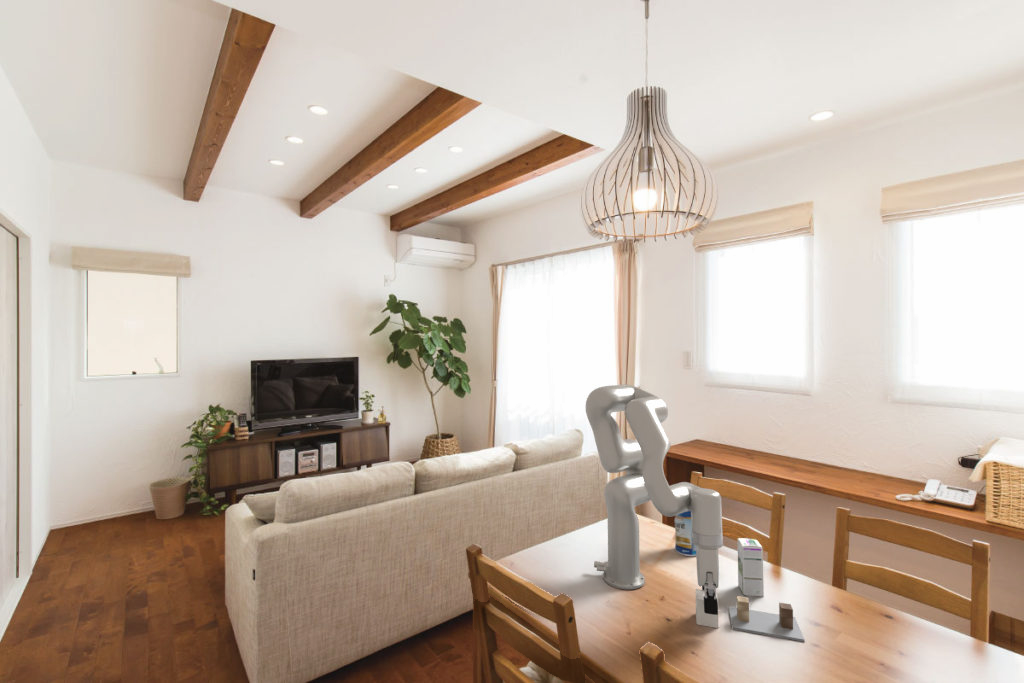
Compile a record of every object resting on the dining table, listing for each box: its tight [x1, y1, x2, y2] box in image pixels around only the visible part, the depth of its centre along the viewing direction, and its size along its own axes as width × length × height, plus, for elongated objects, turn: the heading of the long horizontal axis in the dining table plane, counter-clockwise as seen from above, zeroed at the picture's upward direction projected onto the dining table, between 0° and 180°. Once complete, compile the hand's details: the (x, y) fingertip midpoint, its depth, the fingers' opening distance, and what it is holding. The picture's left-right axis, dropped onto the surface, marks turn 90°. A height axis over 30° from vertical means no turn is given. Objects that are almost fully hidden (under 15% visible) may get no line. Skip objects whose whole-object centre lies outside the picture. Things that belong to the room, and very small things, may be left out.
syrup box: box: [736, 537, 765, 598], centre depth 140 cm, size 6×6×14 cm
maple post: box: [736, 595, 750, 622], centre depth 125 cm, size 3×3×5 cm
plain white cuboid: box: [695, 588, 719, 629], centre depth 125 cm, size 5×5×7 cm
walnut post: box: [778, 602, 794, 629], centre depth 121 cm, size 3×3×5 cm
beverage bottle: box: [674, 511, 696, 557], centre depth 166 cm, size 8×8×20 cm
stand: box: [728, 606, 805, 643], centre depth 123 cm, size 16×10×1 cm, turn 71°
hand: (709, 603), depth 124 cm, fingers open, 9 cm apart
